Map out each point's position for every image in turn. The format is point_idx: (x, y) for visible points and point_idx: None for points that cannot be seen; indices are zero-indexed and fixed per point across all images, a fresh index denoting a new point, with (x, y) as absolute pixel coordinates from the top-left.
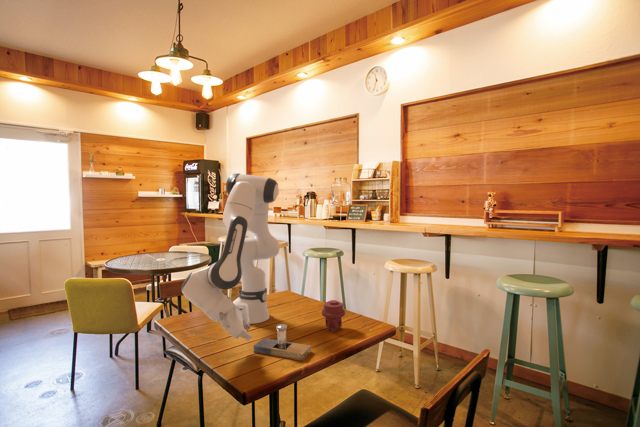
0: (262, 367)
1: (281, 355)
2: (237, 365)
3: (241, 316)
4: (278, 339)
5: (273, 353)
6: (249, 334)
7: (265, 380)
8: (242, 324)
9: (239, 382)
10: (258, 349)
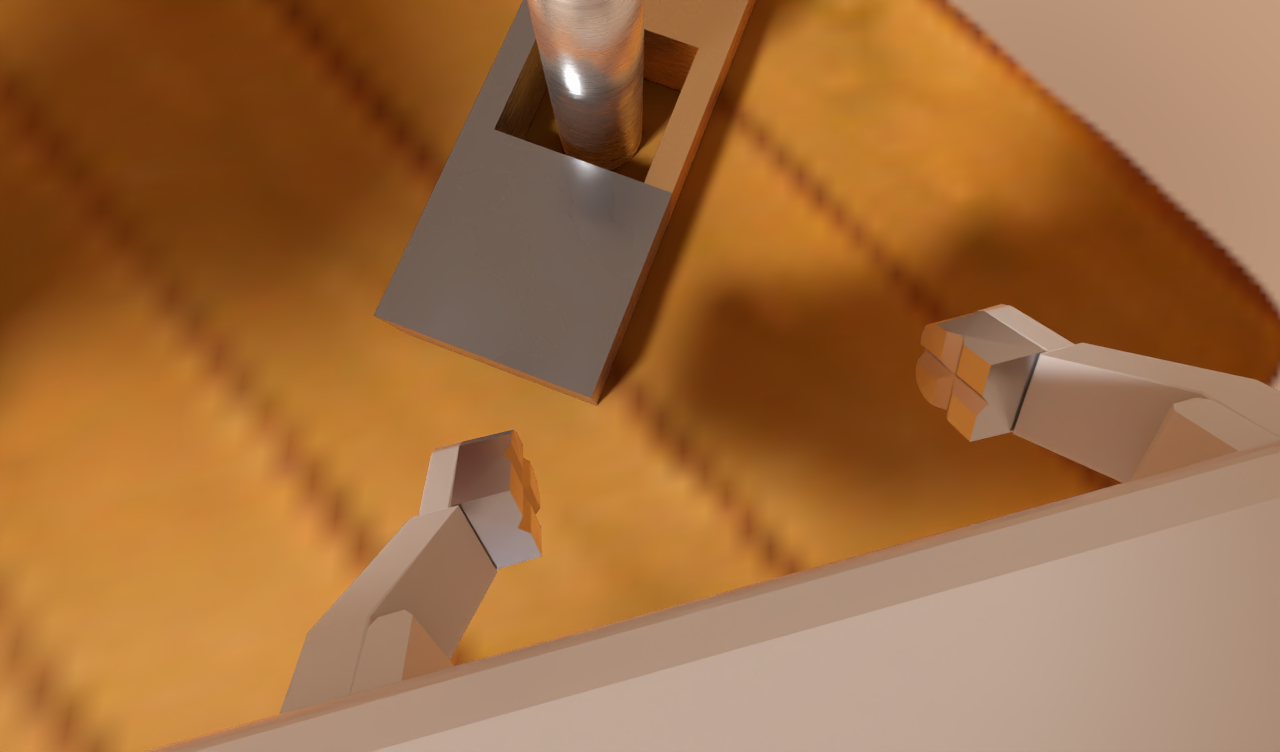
0: (902, 265)
1: (708, 117)
2: (879, 508)
3: (506, 728)
4: (626, 58)
5: (677, 190)
6: (986, 336)
7: (1110, 205)
8: (1252, 482)
9: None
10: (615, 344)
